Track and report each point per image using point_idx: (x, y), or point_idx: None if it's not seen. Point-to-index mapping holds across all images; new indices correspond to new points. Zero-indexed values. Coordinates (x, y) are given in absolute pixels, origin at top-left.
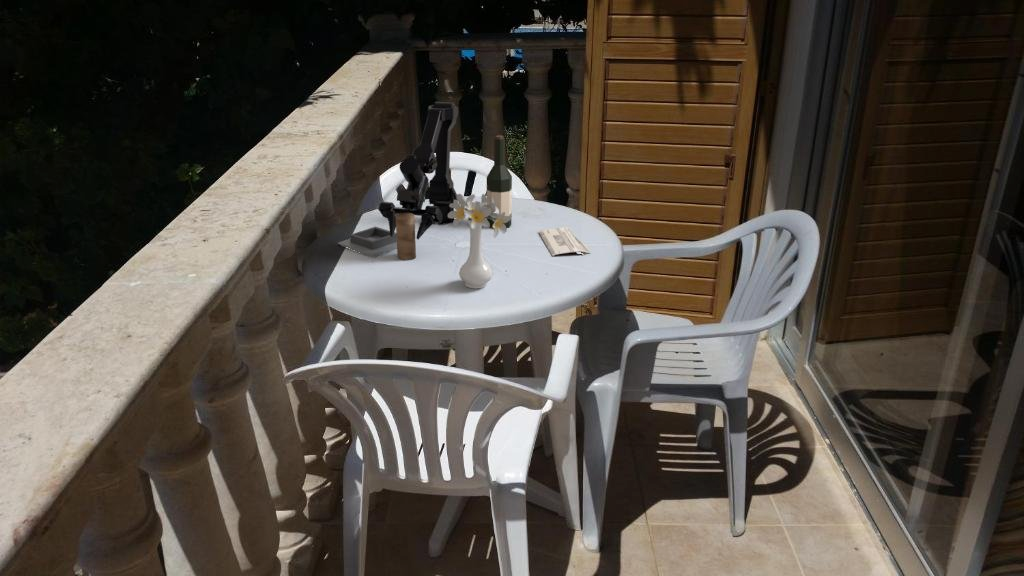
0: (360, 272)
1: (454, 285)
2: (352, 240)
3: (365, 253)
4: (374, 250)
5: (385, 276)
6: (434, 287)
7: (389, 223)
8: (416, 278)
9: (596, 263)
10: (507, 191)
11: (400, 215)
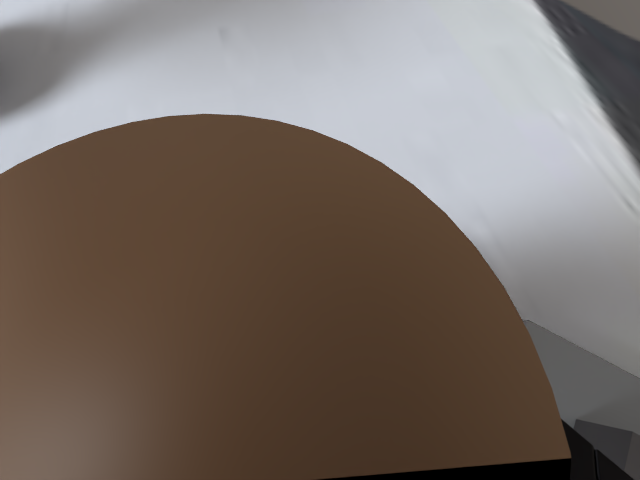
0: (469, 120)
1: (35, 72)
2: None
3: (596, 359)
4: (561, 409)
5: (338, 101)
6: (116, 46)
7: (607, 463)
8: (196, 104)
9: None
10: None
11: (349, 436)
